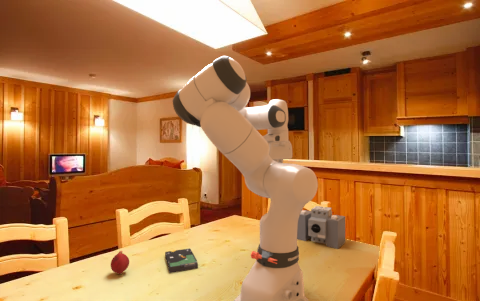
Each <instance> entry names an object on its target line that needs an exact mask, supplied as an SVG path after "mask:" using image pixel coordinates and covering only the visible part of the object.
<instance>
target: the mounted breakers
mask: <svg viewBox="0 0 480 301" xmlns="http://www.w3.org/2000/svg"><path fill="white" fill-rule="evenodd" d="M310 218H311V210H306V209H305V210H304V209H302V211H301V213H300V216H299V220H298V229H297V241H303V242H306V241H308V240H311V237H312V236H308V219H310ZM345 243H346V216H344V215H339V214H332V216H331V217H329V218H328V219H326V244H325V245H326V247H327V248H328V247H329V248H332V249H336V250H338V249H340V247H342V246H343V245H345Z"/></svg>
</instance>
